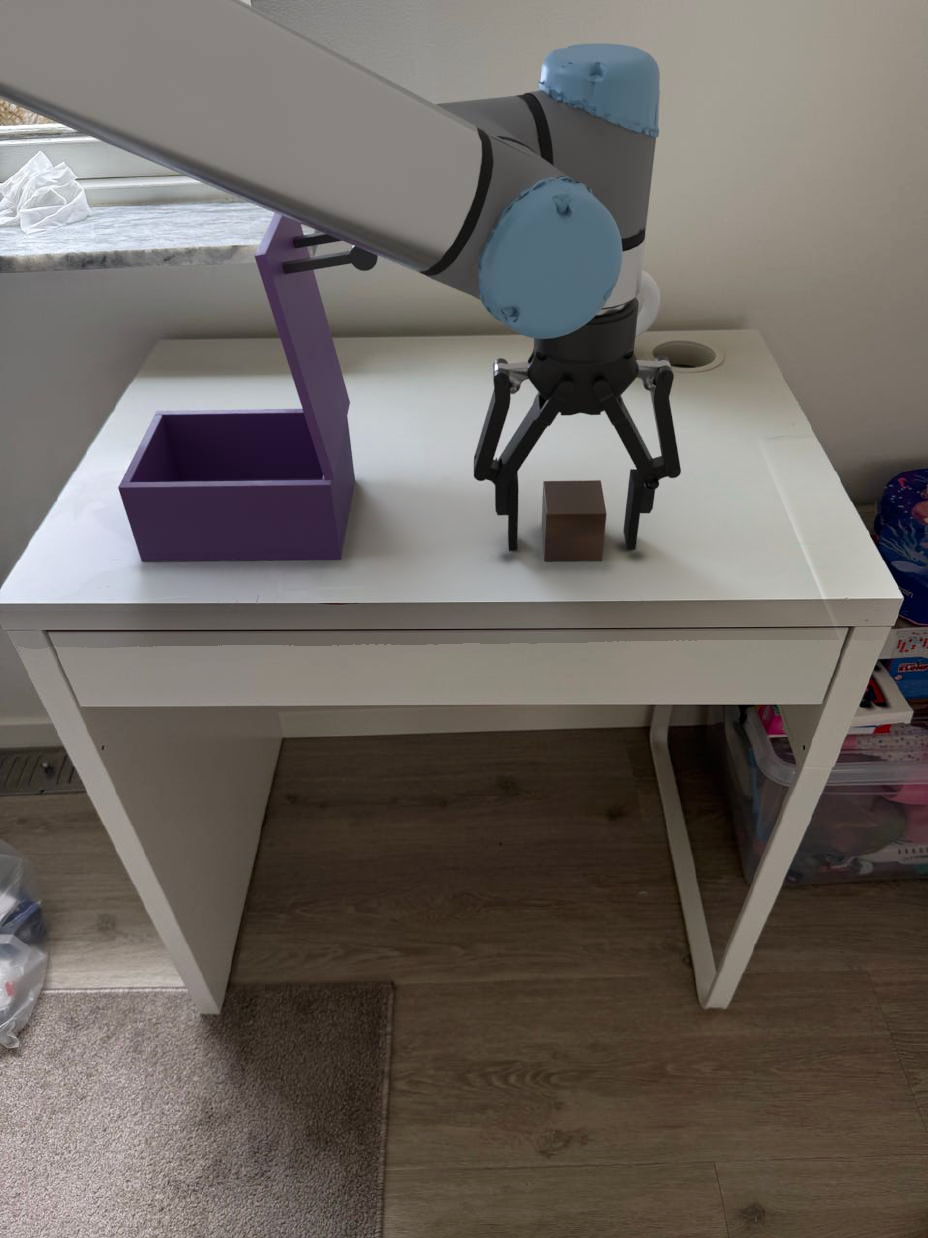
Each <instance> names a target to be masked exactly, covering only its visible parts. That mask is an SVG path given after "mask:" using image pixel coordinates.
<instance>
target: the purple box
mask: <svg viewBox="0 0 928 1238" xmlns="http://www.w3.org/2000/svg"><path fill="white" fill-rule="evenodd" d="M352 452H353V451H352V443H351V434H350V426H349V418H348V416H347V420H346V425H345V430H344V435H343V440H342V444H341V449H340V454H339V459H338V464H337V469H336V474H335V479H334V480H326V481H325V478H324V475H323V472H322V469H321V466H320V463H319V459H318V456H317V453H316V450H315V447H314V444H313V440H312V437H311V434H310V431H309V428H308V425H307V421H306V418H305V415H304V412H303V409H302V408H262V409H261V408H257V409H255V408H253V409H194V410H193V409H192V410H190V409H189V410H188V409H186V410H184V409H183V410H181V409H180V410H156V412H155V413H154V416H153V418H152V420H151V422H150V424H149V426H148V428H147V429H146V431H145V433H144V435H143V438H142V440H141V441H140V443H139V445H138V447H137V449H136V451H135V453H134V455H133V457H132V459H131V462H130V463H129V465H128V467H127V469H126V472H125V473H124V475H123V476H122V479H121V480H120V481H121V482H120V483H119V485H118V487H117V489H118V492H119V495H120V499H121V501H122V502H121V503H122V505H123V508H124V511H125V514H126V517H127V520H128V522H129V526H130V529H131V533H132V537H133V539H134V542H135V545H136V548H137V551H138V554H139V558H140V560H141V562H217V561H218V562H219V561H220V562H223V561H226V562H230V561H231V562H232V561H234V562H235V561H314V560H316V561H317V560H322V561H323V560H324V561H325V560H327V561H328V560H333V561H334V560H341V559H342V555H343V550H344V545H345V538H346V532H347V528H348V527H347V525H348V520H349V515H350V509H351V503H352V498H353V493H354V487H355V483H356V482H355V481H356V477H355V468H354V460H353V453H352Z"/></svg>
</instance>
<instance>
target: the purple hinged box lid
mask: <svg viewBox="0 0 928 1238" xmlns="http://www.w3.org/2000/svg"><path fill="white" fill-rule="evenodd" d="M338 242H343V241H342V240H340V239H337V238H335V237H332V236H330V235H328V234H325V233H323V232H320V231H318V232H314V233H308V234H305V233H304V231H303V226H302V224H301V223H299V222H296V221H294V220H291V219H289V218H287V217H284V216H282V215H279V214H277V213H274V212H273V215H272V218H271V219H270V222H269V224H268V226H267V227H266V230H265V232H264V235H263V236H262V239H261V241H260V244H259V245H258V248H257V250H256V252H255V253H254V260H255V261H256V266H257V269H258V272H259V275H260V278H261V281H262V285H263V287H264V291H265V294H266V298H267V300H268V303H269V307H270V310H271V313H272V317H273V319H274V320H273V321H274V322H275V326H276V329H277V332H278V336H279V339H280V343H281V345H282V348H283V351H284V355H285V359H286V361H287V364H288V367H289V370H290V374H291V377H292V380H293V383H294V386H295V389H296V392H297V396H298V399H299V402H300V405H301V409H303V412H304V415H305V418H306V421H307V425H308V428H309V431H310V434H311V437H312V440H313V444H314V447H315V450H316V453H317V456H318V459H319V463H320V466H321V469H322V472H323V475H324V478H325V481H326V480H334V479H335V474H336V469H337V464H338V459H339V454H340V449H341V444H342V440H343V435H344V430H345V425H346V420H347V417H348V415H349V410H350V405H351V401H350V398H349V393H348V391H347V386H346V383H345V379H344V375H343V372H342V369H341V365H340V360H339V357H338V353H337V350H336V346H335V343H334V339H333V335H332V332H331V329H330V325H329V321H328V318H327V314H326V310H325V307H324V303H323V299H322V296H321V293H320V289H319V285H318V281H317V278H316V275H315V270H321V269H325V268H333V267H339V266H344V265H352V266H353V267H354V268H355V269H357V270H359V271H362V272H367V271H370V270H372V269H373V268H374V267H375V266H376V265H377V263H378V258H379V256H378V255H376V254H373V253H371V252H369V251H366V250H364V249H361V248H359V247H356V246H354V245H352V244H351V248H350V250H346V251H340V252H334V253H330V254H329V253H328V254H323V255H317V256H310V252H309V249H308V247H313V246H314V247H315V246H319V245H325V244H331V243H338Z"/></svg>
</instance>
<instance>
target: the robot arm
mask: <svg viewBox="0 0 928 1238" xmlns="http://www.w3.org/2000/svg"><path fill="white" fill-rule="evenodd" d="M540 71H541V72H540V76H539V77H540V78H539V79H538V83H537V87H538V90H534V91H529V92H528V91H527V92H525V93H523V94H517V95H510V96H500V97H491V98H489V97H488V98H481V99H471V100H460V101H452V102H451V101H450V102H442V103H433V102H432V101H429V100H428V99H426V98H424V97H423V96H420V95H419V94H417V93H415V92H413V91H411V90H409V89H407V88H405V87H403V86H402V85H400V84H398V83H396V82H394V81H393V80H390V79H389V78H387V77H385V76H383V75H381V74H379V73H378V72H375V71H374V70H372V69H370V68H368V67H366V66H364V65H362V64H361V63H360V62H357V61H356V60H354V59H351V58H350V57H347V56H346V55H343V54H342V53H340V52H338V51H337V50H334V49H332V48H330V47H329V46H327V45H325V44H323V43H321V42H320V41H317V40H316V39H314V38H312V37H310V36H308V35H306V34H304V33H302V32H300V31H299V30H297V29H295V28H294V27H291V26H289V25H288V24H286V23H284V22H282V21H280V20H278V19H277V18H275V17H272V16H270V15H269V14H267V13H266V12H263V11H261V10H259V9H257V8H256V7H254V6H252V5H250V4H249V3H247V2H244V1H243V0H0V100H2V101H4V102H7V103H9V104H12V105H13V106H17V107H19V108H22V109H24V110H26V111H29V112H31V113H34V114H36V115H38V116H41V117H43V118H45V119H48V120H50V121H52V122H55V123H58V124H60V125H62V126H65V127H67V128H69V129H71V130H74V131H77V132H79V133H81V134H85V135H86V136H89V137H92V138H93V139H96V140H99V141H101V142H103V143H106V144H108V145H110V146H113V147H116V148H118V149H119V150H120V149H121V150H122V151H125V152H127V153H130V154H132V155H135V156H137V157H139V158H142V159H145V160H146V161H149V162H152V163H154V164H156V165H159V166H161V167H164V168H165V169H168V170H171V171H172V172H173V171H174V172H176V173H178V174H180V175H183V176H185V177H188V178H191V179H193V180H195V181H197V182H200V183H203V184H205V185H207V186H210V187H212V188H215V189H216V190H219V191H222V192H224V193H227V194H229V195H230V196H234V197H236V198H238V199H241V200H243V201H246V202H248V203H250V204H253V205H255V206H258V207H260V208H262V209H265V210H268V211H270V212H271V213H273V214H274V213H277V214H279V215H282V216H284V217H287V218H289V219H291V220H294V221H296V222H299V223H301V225H302V226H305V227H308V228H310V229H313V230H315V231H317V232H323V233H325V234H328V235H330V236H332V237H335V238H337V239H340V240H342V241H341V242H344V243H347V244H350V245H351V246H352V245H354V246H356V247H359V248H361V249H364V250H366V251H369V252H371V253H373V254H376V255H378V257H381V258H383V259H386V260H388V261H391V262H393V263H396V264H397V265H400V266H402V267H405V268H407V269H410V270H413V271H414V272H417V273H419V274H422V275H424V276H426V277H427V278H429V279H431V280H433V281H436V282H438V283H441V284H443V285H445V286H447V287H450V288H451V289H452V288H453V289H455V290H457V291H459V292H462V293H464V294H467V295H469V296H471V297H474V298H476V299H477V300H479V301H481V304H482V305H483V307H484V308H485V310H486V311H487V312H488V313H490V315H491V316H492V317H493V319H495V320H497V321H499V322H501V323H503V324H504V325H505V326H507V327H508V328H509V329H510V330H512V331H513V332H515V333H517V334H519V335H521V336H524V337H527V338H531V339H533V349H532V352H531V354H530V356H529V357H528V359H527V361H523V362H522V361H521V362H513V363H509V361H508V360H507V359H505V358H504V357H503V358H502V357H499V358H496V360H494V361H493V364H492V379H493V390H492V394H491V397H490V401H489V404H488V408H487V412H486V414H485V419H484V422H483V424H482V428H481V433H480V436H479V439H478V443H477V446H476V449H475V452H474V456H473V478H474V479H475V480H476V481H479V482H484V481H486V480H487V481H489V482H492V483H493V485H494V504H495V505H494V508H495V509H494V511H495V513H496V515H497V516H507V546H508V552H518V541H519V540H518V539H519V537H518V536H519V535H518V534H519V533H518V532H519V470H520V468H521V467H522V466H523V464H524V463H525V461H526V459H527V458H528V456H529V455H530V453H531V452H532V450H533V449H534V448H535V446H536V444H537V443H538V441H539V440H540V438H541V436H542V435H543V434H544V432H545V431H546V429H547V428H548V427H550V426H551V425H552V423H554V421H555V419H556V418H557V416H558V415H559V413H560V416H561V417H562V416H574V415H578V414H584V415H588V416H601V413H603V412H604V413H605V415H606V416H607V418H608V420H609V422H610V423H611V425H612V426H613V427H614V429H615V431H616V433H617V435H618V437H619V439H620V440H621V442H622V444H623V446H624V448H625V449H626V452H627V453H628V456H629V457H630V459H631V462H632V463H633V465H634V467H635V468H630V469H629V477H628V487H627V495H626V503H625V504H626V505H625V506H626V507H625V512H624V522H623V529H622V531H623V536H624V541H625V547H626V550H627V551H632V550H636V549H637V541H638V534H639V526H640V516H641V514H651V513H652V510H653V509H654V502H655V496H656V495H655V494H656V490H657V489H658V488H659V486H660V480H662V479H664V478H667V477H668V478H670V479H676V478H678V477H679V476H680V475H681V473H682V469H681V462H680V456H679V451H678V443H677V438H676V431H675V425H674V420H673V419H674V418H673V414H672V413H673V412H672V408H671V401H670V395H671V391H672V387H673V383H674V379H675V378H674V377H675V375H674V372H673V369H672V365H671V362H670V359H669V358H668V356H666V355H658V356H656V357H655V359H654V360H647V359H646V360H645V359H638V358H637V356H636V354H635V344H636V338H635V335H636V326H637V316H638V315H639V300H638V297H637V296H638V295H639V294H640V293H641V291H640V288H641V278H642V270H643V267H644V254H645V245H646V243H645V242H646V229H647V223H648V216H649V205H650V197H651V187H652V180H653V179H652V177H653V172H654V171H653V170H654V161H655V152H656V143H657V138H658V137H659V134H660V129H659V119H660V96H661V90H660V83H661V82H660V77H661V74H660V67H659V64H658V62H657V61H656V59H655V58H654V57H653V55H651V54H650V53H649V52H647V51H645V50H643V49H641V48H639V47H635V46H631V45H627V44H626V45H625V44H618V43H602V42H600V43H599V42H598V43H580V44H572V45H569V46H567V47H561V48H556V49H554V50H552V51H551V52H549V53H548V54H547V55H546V56H545V58H544V59H543V61H542V64H541V69H540ZM638 378H639V379H640V380H641V382H642V386H643V388H644V389H645V390H646V391H647V392H648V391H649V393H650V398H651V399H650V400H651V405H652V409H653V415H654V421H655V425H656V426H655V427H656V432H657V438H658V443H659V450H660V453H661V455H660V456H656V457H652V453H650V450H649V448H648V447H647V445H646V443H645V441H644V439H643V437H642V435H641V433H640V432H639V431H640V430H639V429H638V427H637V425H636V424H635V422H634V420H633V418H632V416H631V414H630V412H629V410H628V408H627V406H626V404H625V402H624V399H623V397H622V395H623V394H624V393H625V392H626V391H627V389H628V388H629V387H630V386H631V385H632V384H633V382H634V381H635V380H636V379H638ZM527 380H529V382H530V383H531V384H532V385H533V387H534V388H535V389H536V391H537V393H536V395H535V397H534V399H533V402H532V405H531V407H530V408H529V410H528V411H527V413H526V414H525V416H524V417H523V419H522V421H521V422H520V424H519V426H518V427H517V429H516V430H515V432H514V433H513V435H512V437H511V439H510V440H509V441H508V443H507V444H506V446H505V448H504V449H503V451H502V452H501V454H500V456H499V457H498V458H497V457H495V455H496V452H497V449H498V446H499V442H500V439H501V437H502V434H503V429H504V426H505V423H506V420H507V416H508V413H509V410H510V405H511V399H512V398H511V397H512V396H511V395H516V394H517V393H518V392H519V391H520V389H521V385H522V383H523V382H524V381H527Z"/></svg>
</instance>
